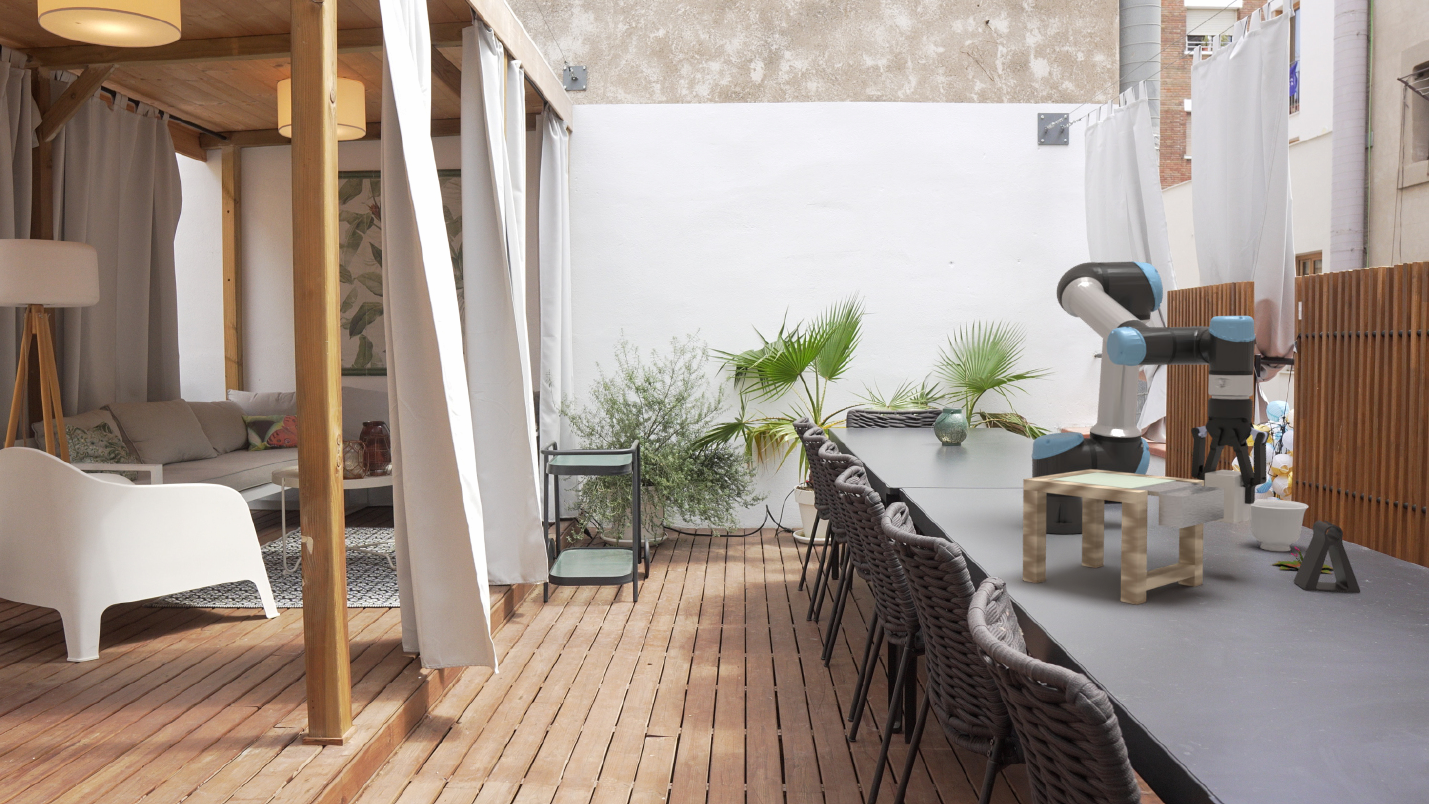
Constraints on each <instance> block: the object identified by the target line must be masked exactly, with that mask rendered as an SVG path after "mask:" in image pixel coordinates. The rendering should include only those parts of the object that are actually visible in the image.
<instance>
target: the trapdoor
mask: <svg viewBox="0 0 1429 804" xmlns="http://www.w3.org/2000/svg"><path fill="white" fill-rule="evenodd" d="M1050 480H1057V481H1066V482H1075V483H1083V484H1092V485H1101V486H1110V487H1118V488H1127V489H1136V490H1145V491H1148V496H1151V497H1153V496H1154V497H1158V526H1162V527H1171V528H1177V529H1179V528H1185V527H1189V526H1193V525H1198V524H1202V523H1204V524H1205V523H1211V522H1216V521H1215V520H1219V519H1223V518H1224V488H1216V487H1206V486H1202V484H1198V483H1189V482H1179V481H1176V480H1168V479H1159V478H1149V477H1139V476H1129V475H1120V474H1110V473H1100V472H1096V473H1089V474H1082V475H1076V476H1069V477H1063V478H1056V479H1050Z"/></svg>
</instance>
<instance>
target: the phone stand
mask: <svg viewBox="0 0 1429 804" xmlns="http://www.w3.org/2000/svg"><path fill="white" fill-rule="evenodd" d="M1312 533H1313V534H1312V536H1311V537H1312V538H1311V540H1310V542H1309V545H1308V547H1307V549H1306V550H1305V553H1304V556H1303V560H1302V561H1301V562H1302V563H1301V565H1300V566H1299V567H1298V568H1299V569H1297V572H1296V574H1295V577H1294V579H1293V582H1294V584H1296V585H1297V586H1299V587H1300V588H1302V589H1303V590H1304V591H1307V592H1327V593H1328V592H1329V593H1331V592H1333V593H1345V594H1347V593H1348V594H1360V593H1361V589H1360V586H1359V583H1358V581H1357V578H1356V576H1355V573H1354V570H1353V568H1352V565H1351V562H1350V560H1349V557H1348V554H1347V551H1346V548H1345V547H1344V544H1343V536H1344V531H1343V529H1342V528H1341V527H1340V526H1337V525H1335V524H1333V523H1331V522H1329V521H1327V520H1324V521H1322V520H1319V519H1318V520H1316V521H1315V522H1314V523H1313V525H1312ZM1327 555H1329V558H1330V562H1331V567H1332V568H1333V569H1332V570H1333V574H1334V578H1335V582H1327V581H1326V582H1323V581H1322V582H1321V581H1319V579H1320V576H1321V573H1322V572H1321V571H1322V569H1323V568H1322V567H1323V564H1325V561H1326V558H1327Z"/></svg>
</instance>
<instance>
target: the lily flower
mask: <svg viewBox="0 0 1429 804" xmlns="http://www.w3.org/2000/svg"><path fill="white" fill-rule="evenodd" d="M1303 548H1304V546H1303ZM1303 548H1302V549H1303ZM1294 549H1295V550H1296V551H1297V552H1298V553H1295V554H1294V553H1293V552H1291V554H1290V555H1292V556H1294V557H1295V558H1296V559H1294V560H1293V561H1292V560H1291V561H1290V560H1289V561H1288V560H1277V561H1276V562H1275V563H1273V564H1272V563H1271V566H1280V567H1279V570H1290V569H1291V570H1296V569H1297V570H1299V567H1300V565H1301V563H1302V560H1303V558H1304V556H1305V554H1302V551H1301V550H1300V549H1299V548H1298V547H1297V546H1294ZM1303 553H1306V550H1304V551H1303ZM1292 567H1293V568H1296V569H1292ZM1330 570H1333V567H1332V566H1330V565H1328V564H1325V563H1324V564H1323V567H1322V571H1321V573H1323V574H1331V575H1333V573H1332V572H1331V571H1330Z"/></svg>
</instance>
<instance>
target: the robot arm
mask: <svg viewBox="0 0 1429 804" xmlns="http://www.w3.org/2000/svg"><path fill="white" fill-rule="evenodd" d="M1163 288H1164V287H1163V282H1162V278H1161V276H1160V274H1159V272H1158V270H1157V268H1156V267H1155V266H1154V265H1153V264H1151V263H1149V262H1143V261H1142V262H1141V261H1108V262H1107V261H1106V262H1104V261H1103V262H1102V261H1101V262H1097V261H1088V262H1084V263H1079V264H1077V265H1075V266H1073V267H1071V268H1070V269H1068V270H1067V271H1066V272H1065V273H1064V274H1063V275H1062V276H1061V278H1059V281H1058V283H1057V287H1056V299H1057V301H1058V304H1059V305H1060V307H1061V308H1062V309H1063V311H1064V312H1065V313H1066V314H1068V315H1070V316H1072V317H1074V318H1079V319H1080V320H1082V321H1083V322H1084V323H1085V324H1086V325H1087V326H1088V327H1090V328H1091V329H1092V330H1093V331H1094V333H1096V334H1097V335H1099V336H1100V337H1101V338H1102V347H1101V362H1100V375H1099V376H1100V377H1099V388H1098V391H1099V393H1098V401H1097V402H1098V404H1097V405H1098V406H1097V418H1096V423H1095V424H1094V425H1093V426H1091V427H1090V428H1089V436H1088V437H1084V435H1083V433H1082V432H1079V431H1077V432H1076V431H1069V432H1056V433H1048V434H1044V435H1041V436H1038V437H1036V438H1035V439H1034V441H1033V443H1032V453H1031V459H1032V460H1031V462H1032V463H1031V464H1032V465H1031V466H1032V469H1031V472H1032V473H1031V478H1035V477H1041V476H1048V475H1055V474H1062V473H1069V472H1075V471H1082V470H1089V469H1095V470H1104V471H1114V472H1124V473H1134V474H1144V475H1147V472H1148V469H1149V466H1150V461H1151V451H1149V449H1150V445H1149V443H1148V442H1147V440H1146V439H1145V438H1144V437H1142V432H1141V430H1140V429H1139V428H1138V427H1137V425H1136V417H1137V407H1138V405H1137V404H1138V395H1139V394H1138V393H1139V392H1138V391H1139V379H1140V378H1139V377H1140V367H1141V366H1157V365H1158V366H1162V365H1163V366H1165V365H1166V366H1169V365H1177V366H1178V365H1179V366H1183V365H1185V366H1187V365H1190V366H1191V365H1192V366H1193V365H1194V366H1195V365H1197V366H1198V365H1199V366H1200V365H1205V366H1206V365H1208V391H1207V392H1208V393H1207V394H1208V395H1209V396H1211V397H1209V399H1208V400H1207V418H1208V420H1207V422H1206V423H1205V425H1202V426H1196V427H1192V428H1191V429H1190V432H1191V435H1192V439H1193V442H1192V443H1193V444H1192V461H1191V477H1192V479H1193V478H1194V479H1196V480H1204V486H1205V473H1209V472H1214V471H1217V467H1218V464H1219V461H1220V458H1221V455H1222V451H1223V450H1224V448H1225V446H1227V447H1231V448H1232V450H1233V452H1234V453H1235V456H1236V460H1237V464H1238V468H1239V471H1240V472H1241V476H1242V479H1243V483H1244V485H1242V486H1241V487H1239V521H1241V522H1242V523H1243V522H1246V521H1250V520H1249V512H1250V504H1253V503H1254V501H1255V500H1256V487H1257V486H1259V485H1263V484H1266V483H1267V480H1268V479H1267V477H1268V476H1267V443H1268V440H1269V437H1270V433H1269V431H1267V430H1266V431H1264V430H1263V431H1262V430H1259V429H1256V428H1255V427H1254V424H1253V421H1252V420H1253V405H1254V404H1253V403H1254V401H1253V400H1252V398H1250V397H1252V396H1253V395H1254V369H1255V368H1254V367H1255V366H1254V365H1255V346H1256V345H1255V344H1256V343H1255V342H1256V334H1255V320H1254V318H1253V317H1252V316H1249V315H1218V316H1213V317H1212V318H1211V319H1210V322H1209V326H1201V325H1199V326H1196V325H1195V326H1171V327H1170V326H1167V327H1166V326H1161V327H1160V326H1158V327H1157V326H1148V325H1147V324H1148V323H1149V322H1150V321H1151V315H1152V314H1151V313H1153V312H1156V311H1157V310H1159V309H1160V307H1161V304H1162V303H1163V298H1164V289H1163ZM1207 435H1209V436H1210V437H1211V442H1210V445H1209V451H1208V454H1207V457H1206V458H1205V456H1206V444H1207V441H1206V439H1207V438H1206V437H1207ZM1250 436H1251V437H1252V438H1251V439H1252V441H1253V446H1252V447H1253V448H1252V449H1253V450H1252V451H1253V465H1252V461H1251V458H1250V454H1249V446H1248V442H1247V440H1248V439H1249V438H1250ZM1082 511H1083V497H1078V496H1070V495H1062V494H1054V493H1047V492H1046V534H1057V535H1060V534H1061V535H1071V534H1072V535H1075V534H1082ZM1241 522H1240V523H1241Z"/></svg>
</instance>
